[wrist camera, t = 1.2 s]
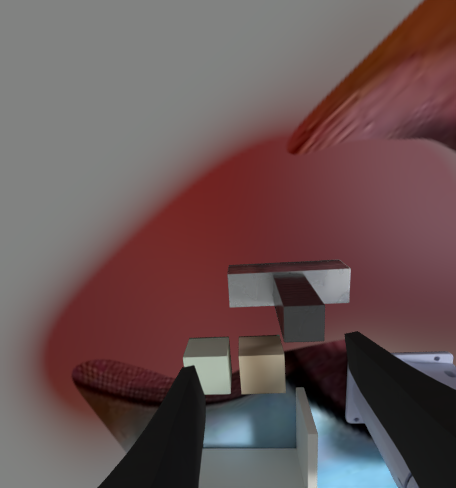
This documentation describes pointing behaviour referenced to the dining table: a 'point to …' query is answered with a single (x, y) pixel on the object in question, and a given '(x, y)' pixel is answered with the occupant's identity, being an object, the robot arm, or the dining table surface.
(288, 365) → the dining table surface
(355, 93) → the dining table surface
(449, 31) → the dining table surface
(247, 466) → the corral
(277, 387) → the chip
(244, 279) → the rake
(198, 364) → the pale green block
